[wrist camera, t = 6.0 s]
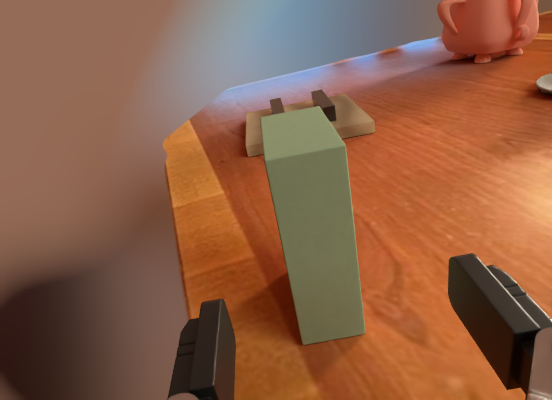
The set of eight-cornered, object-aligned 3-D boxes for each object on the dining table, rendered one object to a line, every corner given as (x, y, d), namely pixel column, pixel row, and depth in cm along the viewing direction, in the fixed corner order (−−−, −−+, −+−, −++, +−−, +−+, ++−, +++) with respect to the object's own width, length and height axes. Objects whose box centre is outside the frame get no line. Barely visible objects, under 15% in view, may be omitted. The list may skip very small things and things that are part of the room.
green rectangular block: (302, 345, 22) (264, 160, 17) (290, 268, 28) (259, 117, 23) (365, 334, 22) (345, 144, 17) (339, 259, 28) (319, 105, 23)
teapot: (446, 51, 85) (447, -20, 79) (540, 42, 77) (550, -38, 71) (434, 69, 73) (434, -14, 67) (544, 60, 65) (557, -35, 59)
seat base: (248, 157, 49) (241, 130, 48) (248, 122, 64) (243, 100, 62) (375, 132, 49) (373, 104, 47) (346, 102, 63) (344, 80, 62)
